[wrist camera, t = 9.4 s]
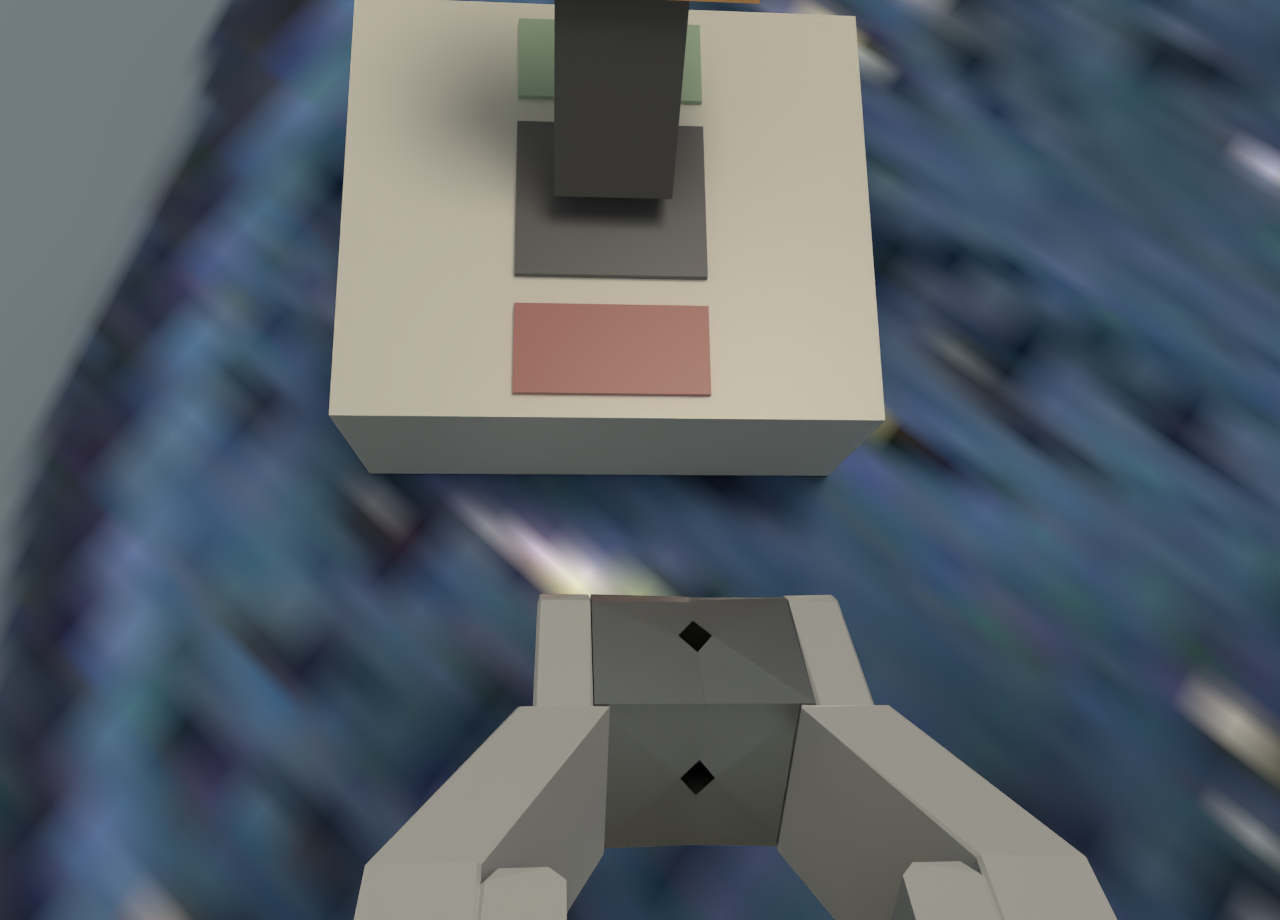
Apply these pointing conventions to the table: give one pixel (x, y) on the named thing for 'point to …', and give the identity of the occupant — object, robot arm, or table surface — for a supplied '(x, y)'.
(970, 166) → the table surface
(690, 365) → the block
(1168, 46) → the table surface
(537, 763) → the robot arm
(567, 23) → the lever
